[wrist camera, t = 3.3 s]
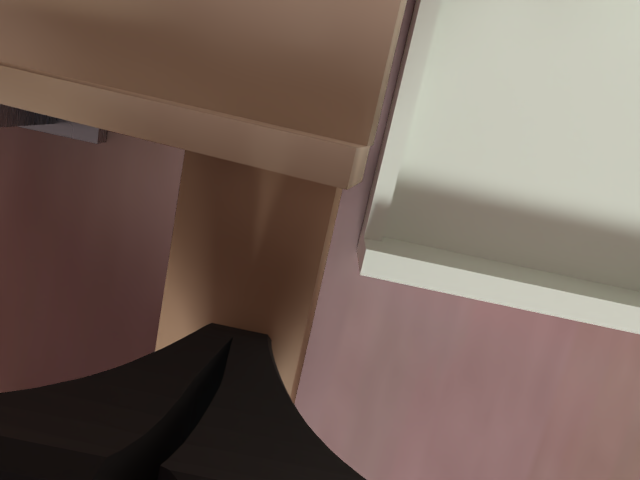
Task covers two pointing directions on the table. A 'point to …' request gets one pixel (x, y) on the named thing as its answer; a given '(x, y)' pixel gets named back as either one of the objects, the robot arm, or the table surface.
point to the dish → (515, 159)
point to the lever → (223, 133)
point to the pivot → (50, 125)
